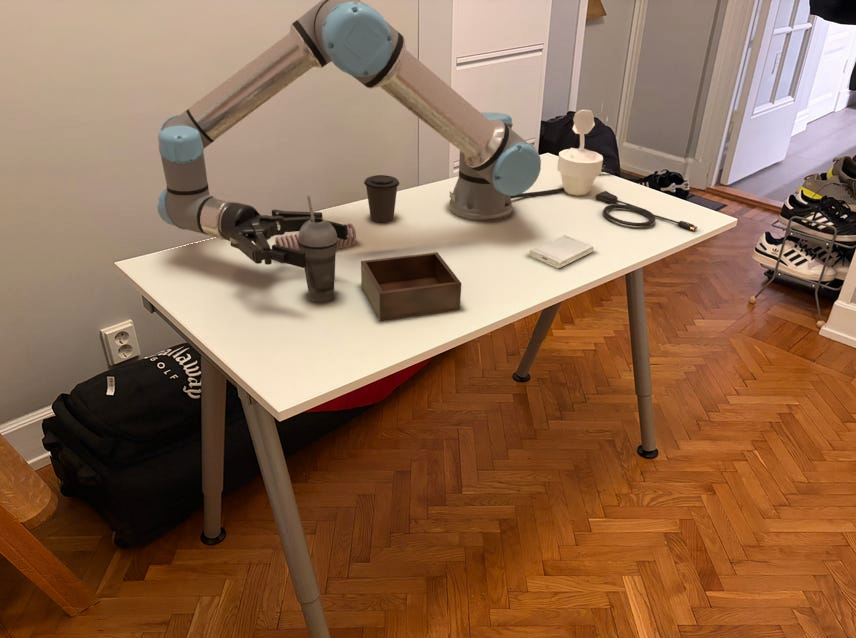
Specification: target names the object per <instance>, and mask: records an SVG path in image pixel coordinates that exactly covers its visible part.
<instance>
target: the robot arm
mask: <svg viewBox="0 0 856 638" xmlns="http://www.w3.org/2000/svg"><path fill="white" fill-rule="evenodd" d="M289 25H290V27H289V32H288V33H287V34H286V35H285V36H283V37H282V38H281V39H279V40H278V41H276V42H275V43H274V44H273V45H271V46H270V47H268V48H267V49H266V50H264V51H263V52H262V53H261V54H259V55H258V56H257V57H255V58H254V59H253V60H251V61H250V62H248V63H247V64H246V65H245V66H244V67H241V69H240V70H238V71H237V72H235V73H234V74H233V75H231V76H230V77H229V78H227V79H226V80H225V81H223V82H222V83H221V84H219V85H218V86H217V87H215V88H214V89H213V90H211V91H210V92H209V93H207V94H206V95H205V96H203V97H202V98H201V99H200V100H198V101H197V102H195V103H194V104H192V105H191V106H190V107H189V108H188V109H186V110H185V111H183V112H182V113H181V114H175V115H171V116H169V117H167V118H166V119H165V120H164V122H163V124H162V125H161V128H160V130H159V132H158V135H157V141H158V151H159V155H160V158H161V163H162V168H163V174H164V178H165V184H166V188H165V189H164V190H162V192H160V194H159V197H158V204H157V206H156V208H157V213H158V215H159V217H160V218H161V220H162V221H163V222H165V223H166V224H168V225H171V226H173V227H176V228H178V229H180V230H186V231H190V232H191V231H192V232H194V233H199V234H203V235H206V236H209V237H214V238H217V239H220V240H222V241H223V240H224V241H228V242H229V244H230V247H231V248H235V249H238V250H239V251H240V252H241V253H243V254H244V255H245V256H246V257H248V258H249V259H250V260H251V261H252V262H253V263H254V264H257V265H260V264H262V263H263V261H264V264H265V265H269V266H270V265H272V263H273V261H275V262H279V263H283V264H287V265H291V266H295V267H297V268H302V269H304V268H305V267H306V257H305V252H301V251H298V250H294V249H290V248H286V247H283V246H279V245H276V243H273V244H272V245H271V246H270V244H269V242H268V240H270V239H271V238H272V237H274V236H284V235H285V234H286V233H294V232H299V231H300V229H301V227H302V225H303V224H304V223H305V222H306V221H308V220H310V219H311V214H310V211H296V210H295V211H293V210H292V211H291V210H280V209H272V210H271V214H270V215H268V214H267V215H266V214H264V215H263V214H260V213H259V211H258V210H257V209H256V208H255V207H253V206H252V205H249V204H246V203H241V202H238V201H237V202H236V201H233V200H230V199H226V198H221V197H217V196H215V195H214V196H213V195H210V188H209V182H208V176H207V175H208V174H207V168H206V160H205V155H204V151H205V149H206V148H207V147H208V146H210V145H211V144H212V143H214V142H215V141H216V140H218V139H219V138H220V137H222V136H224V134H225V133H227V132H228V131H230V130H231V129H232V128H234V127H235V126H236V125H238V124H239V123H240V122H241V121H243V120H244V119H245V118H247V117H249V116H250V115H251V114H253V113H254V112H255V111H257V110H258V109H259V108H260V107H262V106H264V105H265V104H267V103H268V102H269V101H270V100H271V99H273V98H274V97H275V96H277V95H278V94H280V93H281V92H283V91H284V90H285V89H287V88H288V87H289V86H291V85H292V84H293V83H295V82H296V81H297V80H299V79H300V78H301V77H303V76H304V75H306V74H307V73H308V72H310V71H311V70H313V69H314V68H315V69H323V68H325V67H326V66H327V65H329V64H330V63H332V64H333V65H334V66H335V67H336V68H337V69H339V70H340V71H341V72H343V73H345V74H348V75H349V76H352V77H353V78H355V80H357V81H358V83H359V82H360V83H361V84H362V85H363V86H365V87H366V88H367V89H368V90H372V89H376V88H377V89H378V88H380V89H382V91H383V92H385V93H387V94H388V95H389V96H390V97H391V98H393V99H394V100H395V101H396V102H397V103H399V104H400V105H401V106H403V107H404V108H405V109H407V110H408V111H409V112H410V113H412V114H413V115H414V116H415V117H416V118H418V119H420V121H422V122H423V123H425V124H426V125H427V126H428V127H430V128H431V129H432V130H433V131H435V132H436V133H437V134H438V135H440V136H441V137H442V138H443V139H445V140H446V141H448V142H449V143H450V144H451V145H452V146H454V147H455V148H456V149H458V150H459V160H458V162H459V163H458V178H457V180H456V183H455V185H454V188H453V191H451V190H449V198H450V199H449V210H450V212H451V213H452V214H454V215H455V216H456V217H457V216H458V217H459V218H462V219H465V220H468V221H469V220H470V221H476V222H494V221H500V220H504V219H506V218H508V217H509V216H510V215H511V214H512V210H513V209H512V208H513V202H512V199H517V198H526V197H533V196H535V197H536V196H543V195H550V194H556V193H562V192H565V191H564V188H563V187H559V188H553V189H548V190H541V191H531V192H530V191H529V192H527V191H528V190H530V189H531V187H533V185H534V184H535V183H536V182H537V181H538V178H539V176H540V173H541V169H542V168H541V167H542V159H541V156H540V154H539V152H538V149H536V147H535V146H534V145H533V144H532V143H530V142H528V141H526V140H525V139H523V137H521V136H520V135H519V134H518V133H516V131H514V130H513V129H512V128H513V125H514V123H513V117H512V116H511V115H509V114H506V113H502V112H481V111H480V110H479V109H477V108H476V107H475V106H474V105H472V104H471V103H470V102H469V101H468V100H466V99H465V98H464V97H463V96H461V94H459V93H458V92H457V91H455V89H453V88H452V87H451V86H450V85H449V84H448V83H446V82H445V81H444V80H443V79H441V78H440V77H439V76H438V75H437V74H436V73H435V72H433V71H432V70H431V69H429V67H427V66H426V65H425V64H424V63H423V62H422V61H421V60H419V59H418V58H417V57H416V56H415V55H413V54H412V53H411V52H410V51H408V49H407V48H406V47H407V46H406V39H405V36H404V35H402V33H400V32H399V31H398V30H397V29H396V28H394V27H393V26H392V25H391V24H390V23H389V22H388V21H387V20H385V19H384V17H383V15H382V14H381V13H380V12H379V11H377V10H376V9H375V8H373V7H372V6H370V5H369V4H366V3H364V2H362V1H361V0H320V1H319V2H317V3H316V4H314V6H312V7H311V8H309V9H308V10H307V11H306V12H305V13H304V14H303V15H301V16H300V17H299V18H297V20H295V21H293V22H292V23H291V24H289ZM601 173H609V174H610V175H612V176H616V172H615V171H613V170H612V169H611V168H602V169H601ZM313 215H314V218H322V219H324V218H323V213H322V212H320V211H313ZM325 220H326V219H325ZM326 221H328V222H329V223H330V224H331V225H332V226H333V227H334V229H335V231H336V233H337V237H338V238H339V239H343V240H346V239H348V233H347V225H348V224H347V225H344V224H343V223H339V222H336V221H331V220H326Z"/></svg>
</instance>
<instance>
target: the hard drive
mask: <svg viewBox="0 0 856 638" xmlns="http://www.w3.org/2000/svg"><path fill="white" fill-rule="evenodd" d="M593 252H594V246H593V245H592V244H590V243H587V242H584V241H581V240H579V239H576V238H574V237H571V236H569V235H566V234H564V235H562V236H559V237H557V238H555V239H553V240H550V241H548V242H546V243H544V244H541V245H539V246H536V247H535V248H533V249H531V250H530V251H529V256H530V258H533V259H535V260H537V261H539V262H542V263H545V264H547V265H548V266H551V267H554V268H556V269H560V268H562V267H565V266H567V265H568V264H571V263H573V262H574V261H577V260H579V259H581V258H583V257H585V256H587V255H589V254H591V253H593Z"/></svg>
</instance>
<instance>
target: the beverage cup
mask: <svg viewBox="0 0 856 638" xmlns="http://www.w3.org/2000/svg"><path fill="white" fill-rule="evenodd" d="M306 198H307V204H308V208H309V212H310V214H311V219H310V220H308V221H306V222H305V223H304V224H303V225H302V227H301V229H300V231H298V234H299V238H298V244H299V247H300V251H301V252H305V257H306V267H305V268H303V269H304V275H305V281H306V286H307V291H308V295H309V299H310V300H312V301H313V302H318V303H324V302H329V301H331V300H333V298H334V294H335V279H336V255H337V249H338V248H337V243H338V237H337V233H336V231H335V229H334V227H333V226H332V225H331V224H330V223H329V222H328V221H329V220H327V221H326V219H325V218H323V219H322V218H314V215H313V212H314V210H313V205H312V200H311V196H310V194H307V195H306Z"/></svg>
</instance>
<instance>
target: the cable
mask: <svg viewBox="0 0 856 638" xmlns="http://www.w3.org/2000/svg"><path fill="white" fill-rule="evenodd" d="M595 201H600V202H603V203H606V204H609V205H606V206H605V207H604V208H603V209H602V215H603V216H604V217H605V218H607V219H608V220H610V221H612V222H615V223H618V224H621V225H624V226H629V227H641V228H642V227H643V228H644V227H648V226H652V225H654V223H655V222H656V219H657V218H658V219H662V220H665V221H668V222H671V223H675V224H677V225H678V226H679V227H681V228H684V229H686V230H689V231H691V230H692V231H694V230H697V229H698V226H696V225H694V224H692V223H690V222H687V221H683V220H680V221H677V220H674V219H670V218H667V217H664V216H660V215H656V214H654V213H653V212H651V211H650V210H648V209H645V208H643V207H640V206H637V205H634V204H631V203H628V202H625V201H621V200H619V198H618V196H617V195H615V194H613V193H610V192H608V191H607V190H603V191H601V192H597V193H595ZM616 203H617V204H616ZM618 203H619V204H618ZM615 209H620V210H627V211H632V212H635V213H638V214H642V215H644V216H646V217H647V218H648V220H647V221H643V222H632V221H626V220H623V219H620V218H617V217H615V216H613V215H611V214H610V213H609V211H610V210H615Z"/></svg>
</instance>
